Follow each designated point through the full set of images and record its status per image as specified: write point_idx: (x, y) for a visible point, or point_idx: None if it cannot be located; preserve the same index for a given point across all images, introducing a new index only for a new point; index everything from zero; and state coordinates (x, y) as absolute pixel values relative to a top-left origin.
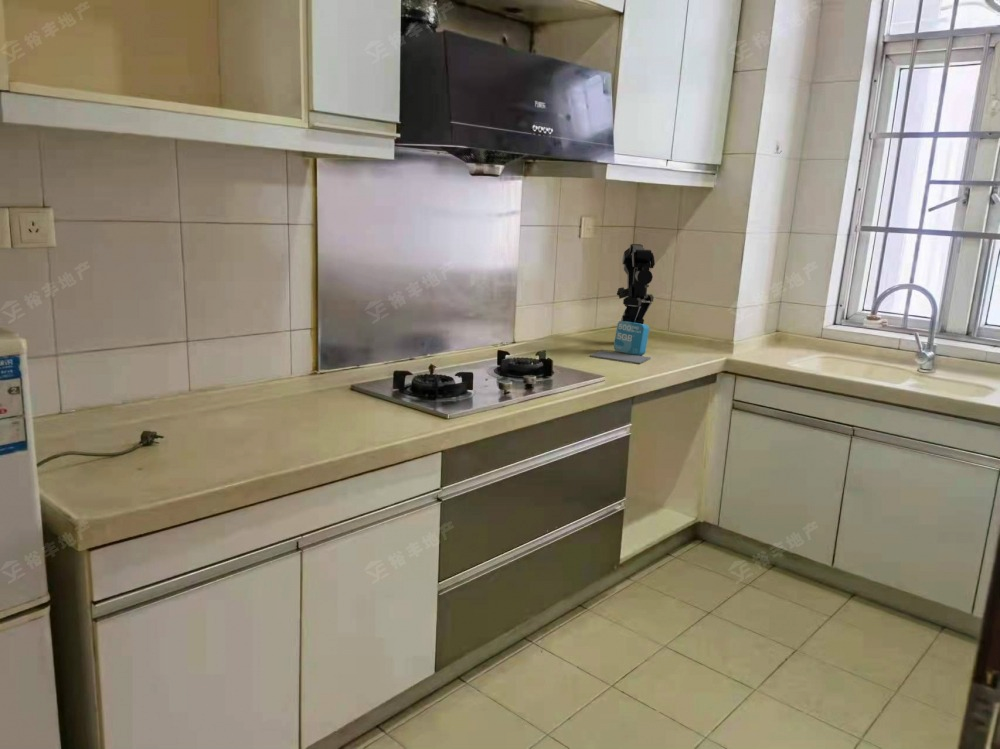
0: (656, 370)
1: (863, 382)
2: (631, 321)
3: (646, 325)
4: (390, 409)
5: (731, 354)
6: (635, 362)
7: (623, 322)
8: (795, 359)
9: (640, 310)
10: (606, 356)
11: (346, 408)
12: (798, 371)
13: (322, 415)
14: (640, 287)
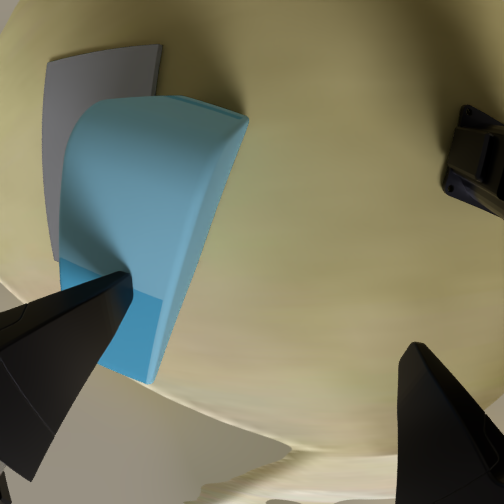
0: None
1: (226, 500)
2: (111, 276)
3: (127, 376)
4: None
5: (372, 455)
6: (52, 244)
7: (65, 185)
8: (354, 493)
9: (444, 443)
10: (55, 124)
11: None
12: (248, 487)
13: None
14: None
